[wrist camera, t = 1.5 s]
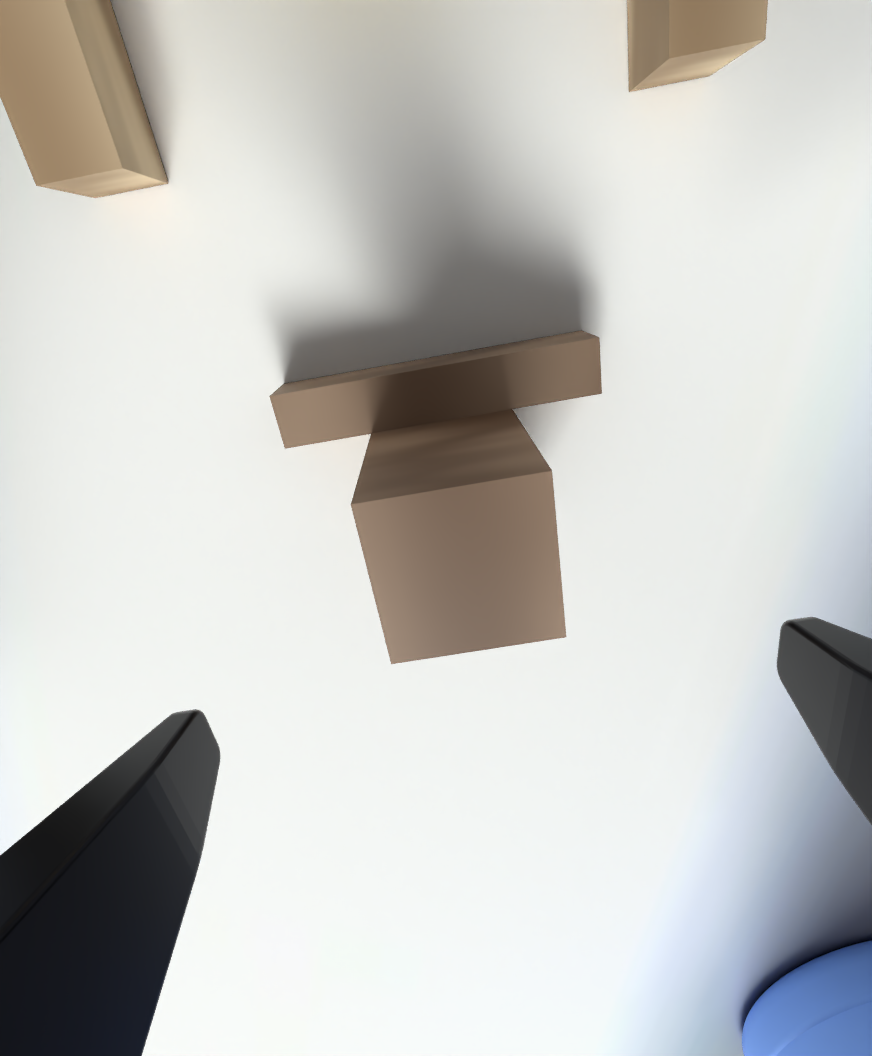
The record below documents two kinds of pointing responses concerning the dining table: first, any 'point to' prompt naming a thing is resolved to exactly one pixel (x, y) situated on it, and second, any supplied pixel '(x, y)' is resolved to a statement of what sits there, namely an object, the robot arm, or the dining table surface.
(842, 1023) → the water jug
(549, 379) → the brown t-shaped block
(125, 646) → the dining table surface
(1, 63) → the wooden blocks
